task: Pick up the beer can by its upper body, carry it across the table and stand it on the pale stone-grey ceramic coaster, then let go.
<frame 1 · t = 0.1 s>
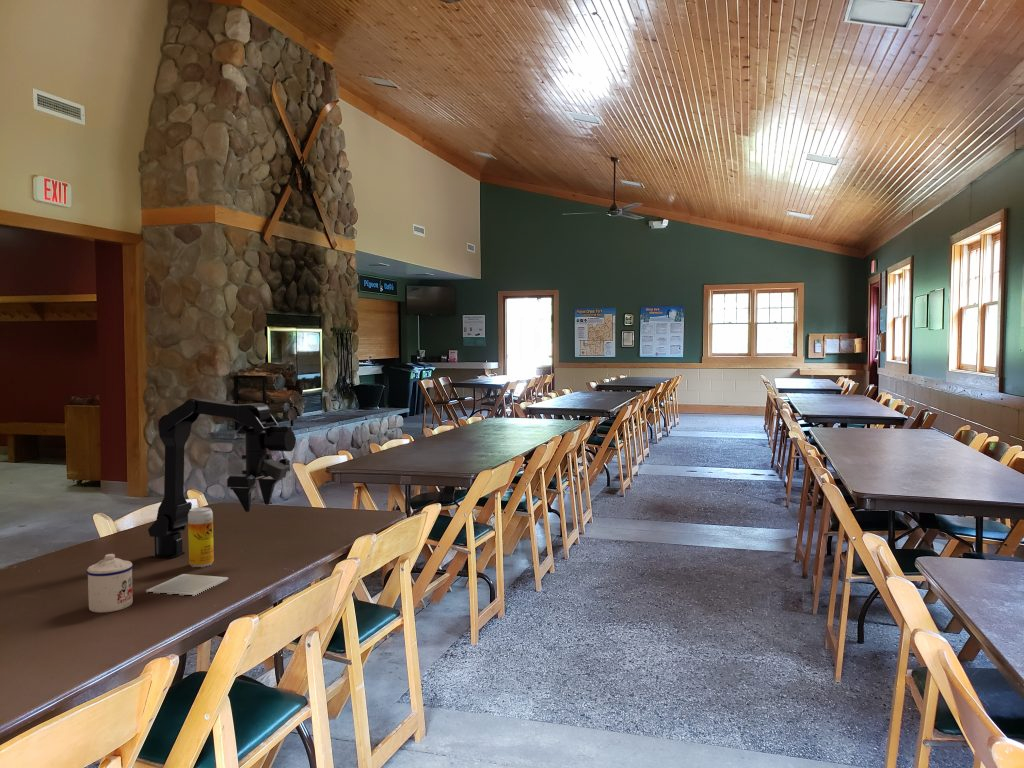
hand: (257, 508, 197), 15 cm above the table, tool pointing down, fingers open, 9 cm apart
teacup with lid: (113, 605, 164), on the table
beer can: (201, 565, 195), on the table
coaster: (188, 585, 177), on the table
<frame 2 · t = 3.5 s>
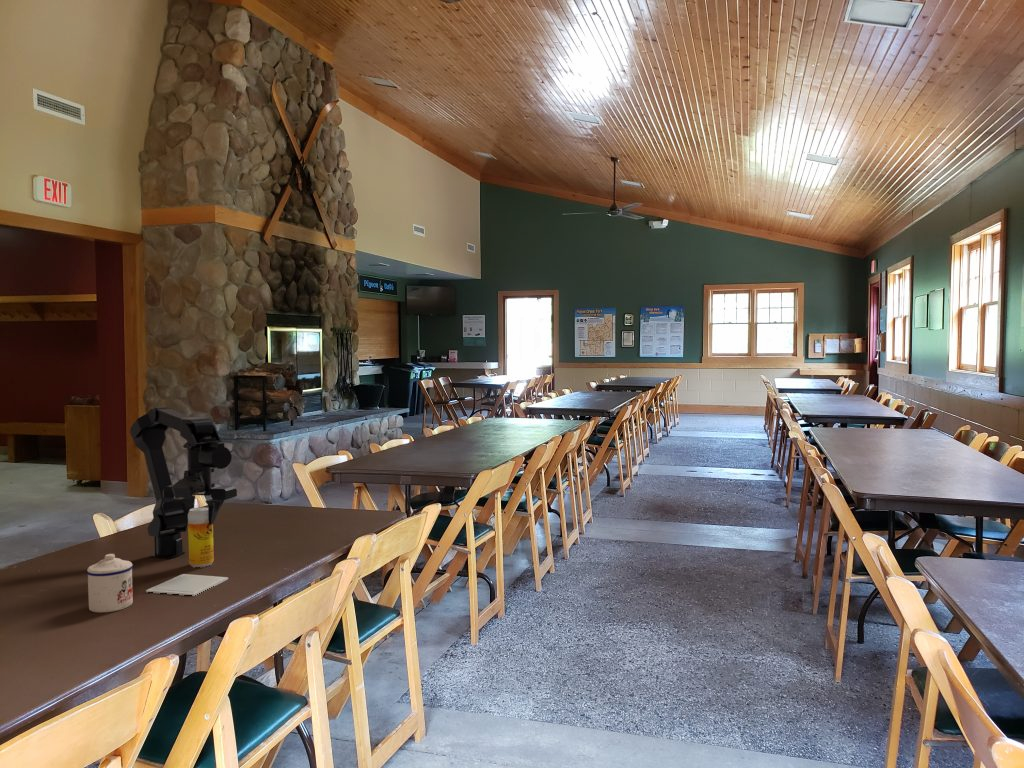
hand: (200, 523, 194), 11 cm above the table, tool pointing down, fingers closed on beer can, 6 cm apart
beer can: (201, 565, 195), on the table, touching gripper
everything else where it was.
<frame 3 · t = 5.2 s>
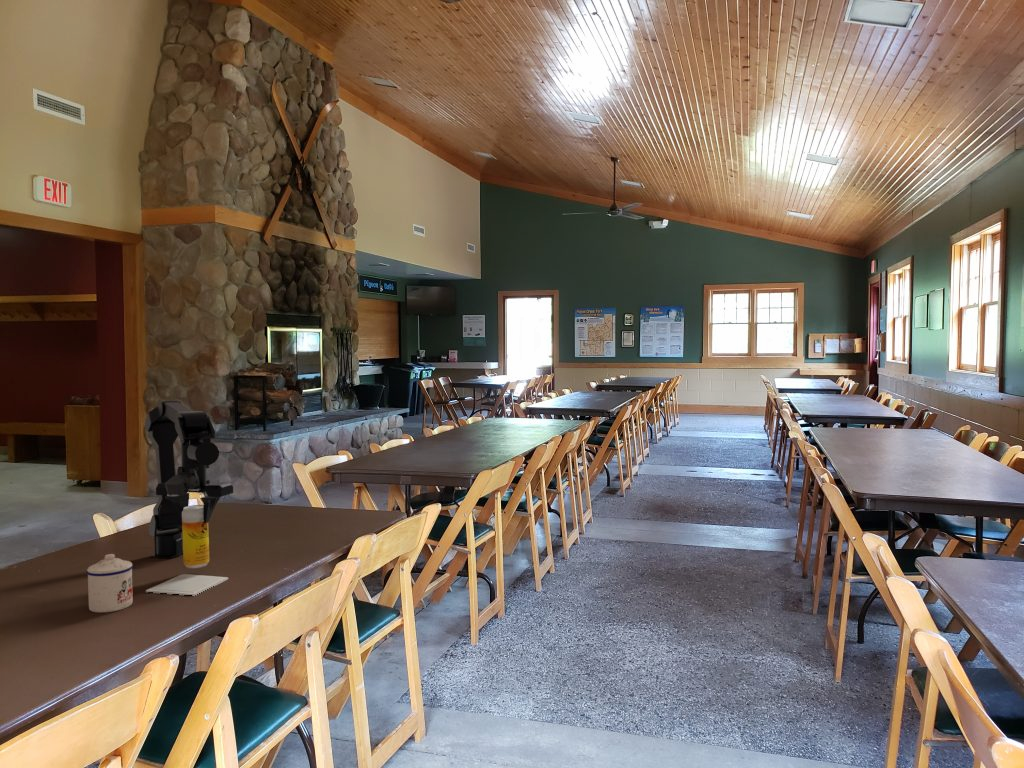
hand: (195, 522, 186), 13 cm above the table, tool pointing down, fingers closed on beer can, 6 cm apart
beer can: (196, 566, 186), point 2 cm above the table, touching gripper
everything else where it was.
when the fingers open (12 cm above the table, at t = 6.7 s): beer can stays where it is, resting on coaster.
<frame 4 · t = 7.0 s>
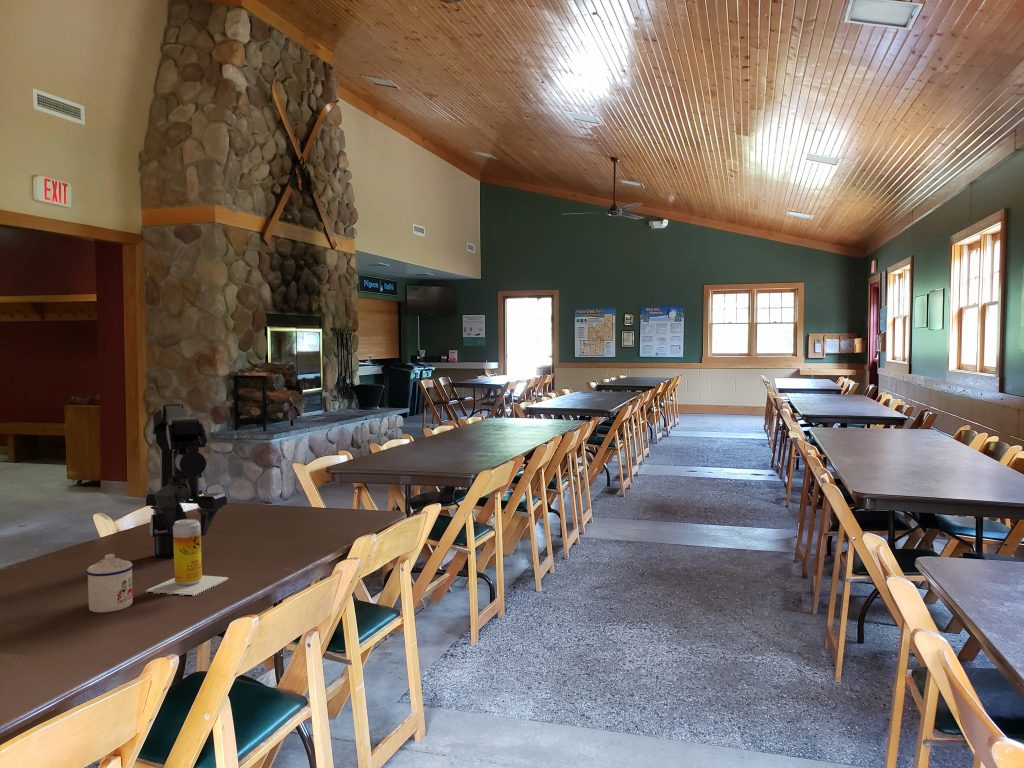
hand: (187, 534, 177), 12 cm above the table, tool pointing down, fingers open, 9 cm apart
beer can: (188, 583, 178), resting on coaster
everything else where it was.
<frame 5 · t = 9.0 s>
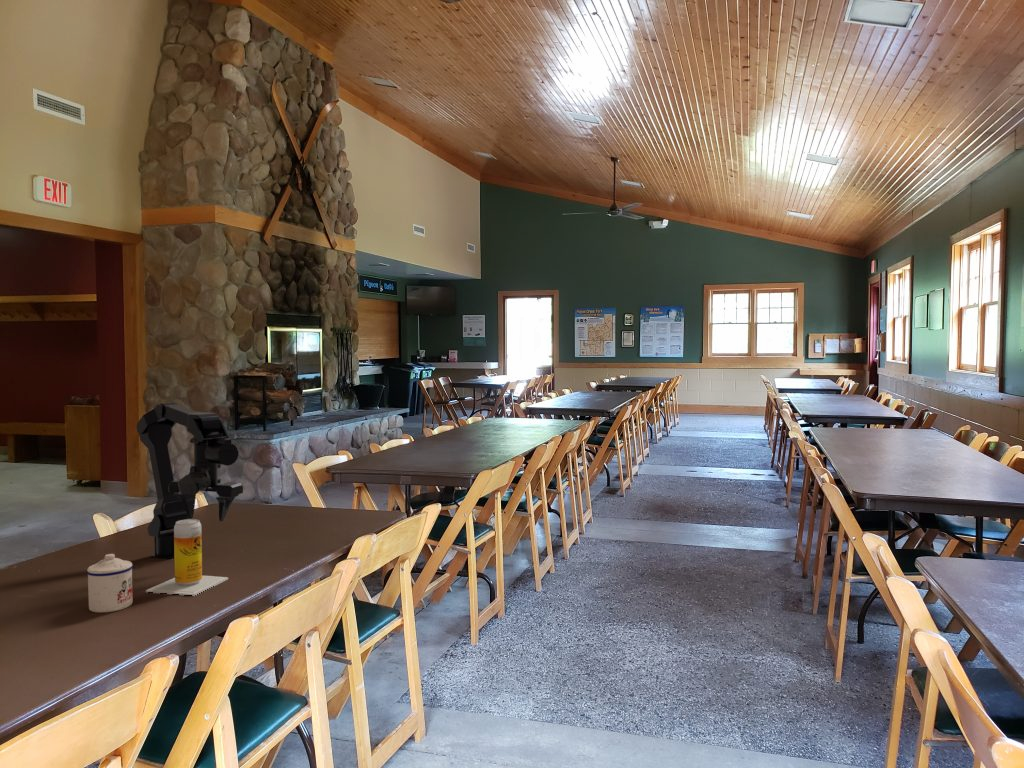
hand: (206, 519, 192), 12 cm above the table, tool pointing down, fingers open, 9 cm apart
nothing on the table moved.
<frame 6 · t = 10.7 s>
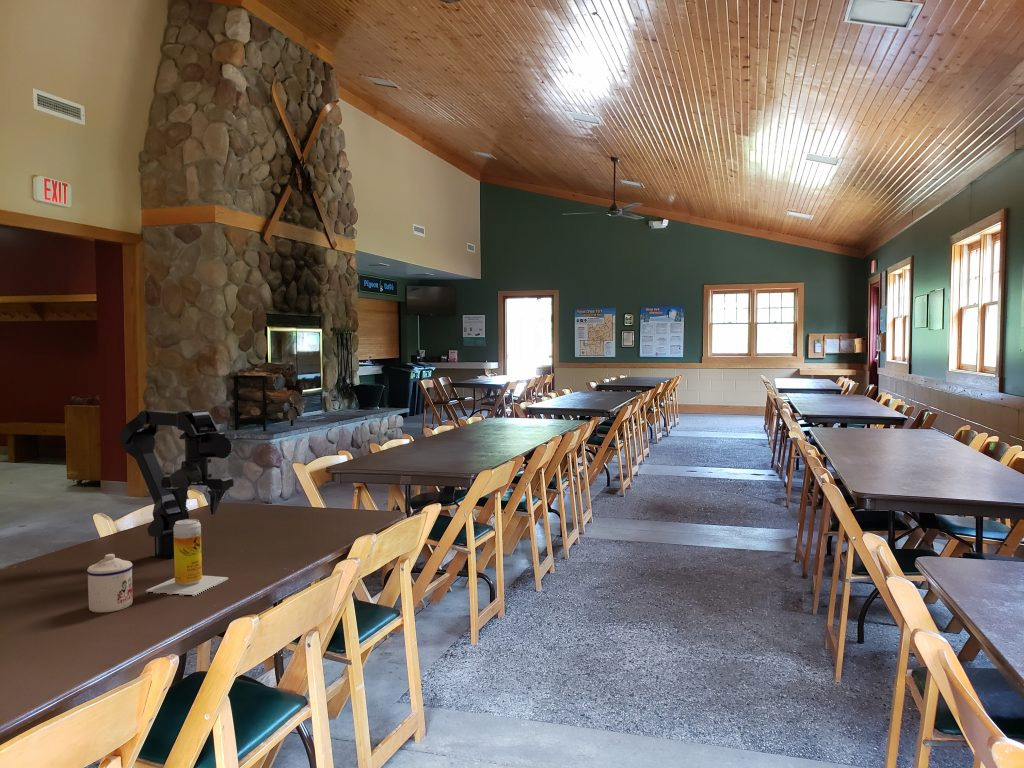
hand: (197, 513, 198), 13 cm above the table, tool pointing down, fingers open, 9 cm apart
nothing on the table moved.
at the end: beer can 0.4 cm from the coaster (horizontally); beer can tilted 0°; the gripper is holding nothing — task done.
